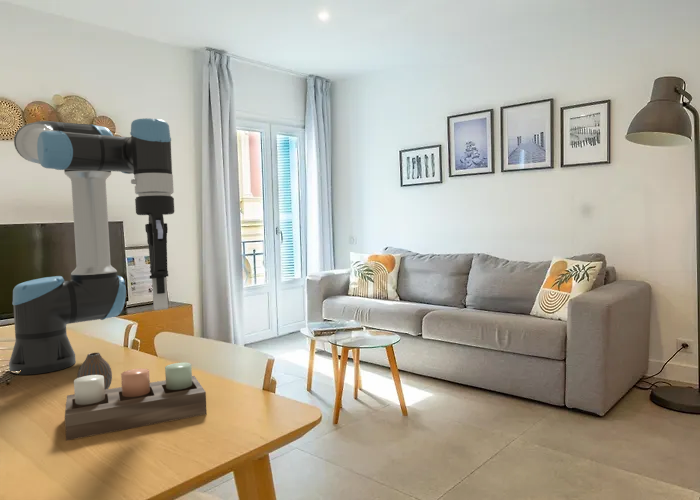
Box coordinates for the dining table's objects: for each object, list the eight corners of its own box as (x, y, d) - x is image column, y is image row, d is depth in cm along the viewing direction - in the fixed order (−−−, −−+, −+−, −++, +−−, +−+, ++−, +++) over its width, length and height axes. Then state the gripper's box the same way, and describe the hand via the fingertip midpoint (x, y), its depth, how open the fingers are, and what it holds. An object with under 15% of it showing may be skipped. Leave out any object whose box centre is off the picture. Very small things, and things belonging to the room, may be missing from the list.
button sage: (164, 384, 106) (163, 364, 106) (189, 380, 108) (189, 361, 108) (167, 391, 102) (166, 371, 101) (194, 387, 104) (193, 367, 104)
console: (68, 417, 102) (66, 395, 101) (195, 396, 112) (194, 375, 112) (66, 440, 91) (64, 415, 91) (206, 414, 102) (205, 391, 101)
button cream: (75, 398, 99) (74, 377, 99) (104, 393, 101) (103, 373, 101) (74, 406, 94) (73, 384, 94) (105, 401, 97) (104, 380, 96)
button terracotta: (121, 391, 102) (120, 371, 102) (148, 386, 105) (147, 367, 104) (123, 398, 98) (121, 377, 98) (151, 394, 100) (150, 373, 100)
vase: (99, 398, 112) (96, 358, 112) (71, 397, 114) (68, 357, 113) (119, 388, 119) (117, 350, 118) (92, 387, 120) (90, 349, 120)
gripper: (132, 198, 113) (138, 307, 114) (137, 193, 101) (144, 314, 102) (169, 197, 116) (175, 303, 117) (178, 193, 104) (184, 310, 105)
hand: (160, 308), depth 109 cm, fingers closed
